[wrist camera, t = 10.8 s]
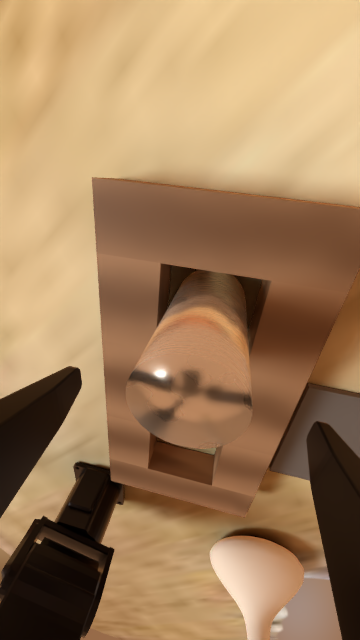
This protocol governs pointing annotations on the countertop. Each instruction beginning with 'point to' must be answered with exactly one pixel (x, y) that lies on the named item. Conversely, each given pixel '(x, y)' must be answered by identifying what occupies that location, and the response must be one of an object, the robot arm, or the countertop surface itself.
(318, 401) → the rubber mat
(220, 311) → the steel peg
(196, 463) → the hole block
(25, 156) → the countertop surface
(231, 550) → the flower in vase
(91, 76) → the countertop surface
